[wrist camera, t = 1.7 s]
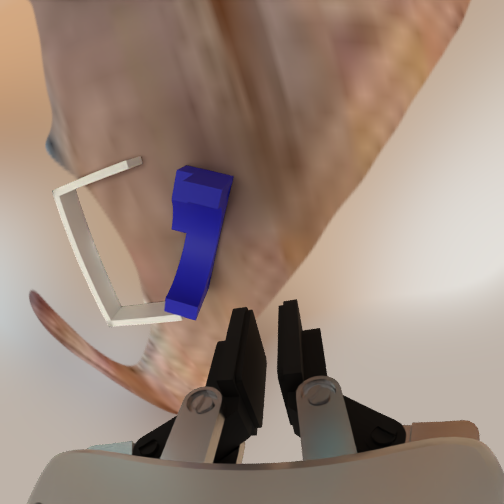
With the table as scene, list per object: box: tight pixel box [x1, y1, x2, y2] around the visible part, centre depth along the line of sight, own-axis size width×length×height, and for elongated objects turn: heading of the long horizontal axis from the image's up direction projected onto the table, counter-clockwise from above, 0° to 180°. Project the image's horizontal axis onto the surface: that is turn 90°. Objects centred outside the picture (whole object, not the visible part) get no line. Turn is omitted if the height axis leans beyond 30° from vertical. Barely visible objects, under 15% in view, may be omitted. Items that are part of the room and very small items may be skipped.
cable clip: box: [164, 165, 234, 320], centre depth 26 cm, size 12×4×6 cm, turn 165°
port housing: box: [52, 156, 184, 327], centre depth 29 cm, size 17×10×3 cm, turn 12°
